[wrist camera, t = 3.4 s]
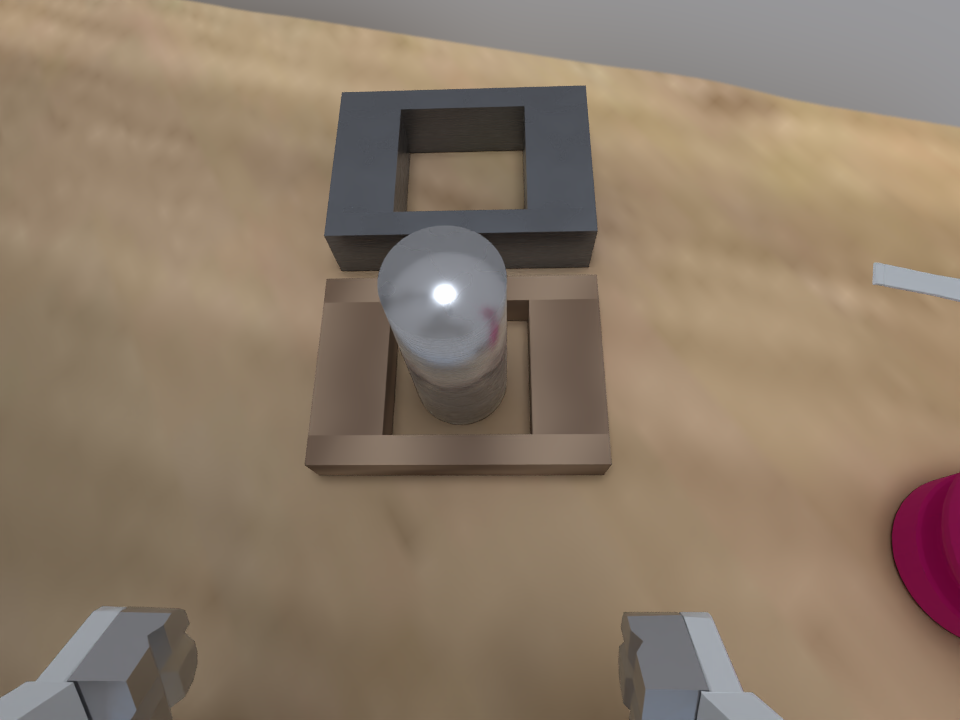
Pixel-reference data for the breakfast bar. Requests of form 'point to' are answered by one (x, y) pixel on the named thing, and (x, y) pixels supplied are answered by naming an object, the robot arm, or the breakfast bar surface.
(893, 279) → the butter knife
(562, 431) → the wooden picture frame
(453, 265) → the steel axle
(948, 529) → the pepper mill
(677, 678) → the robot arm
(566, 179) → the socket block
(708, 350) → the breakfast bar surface
